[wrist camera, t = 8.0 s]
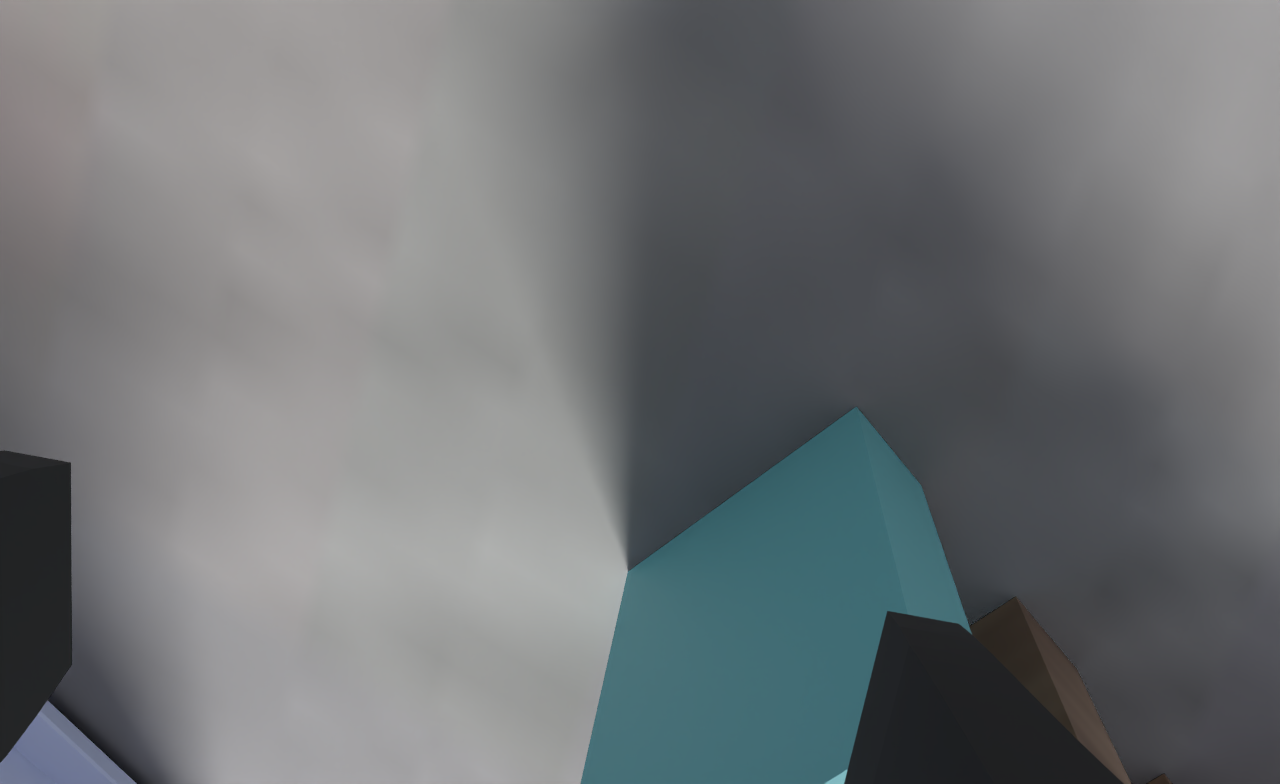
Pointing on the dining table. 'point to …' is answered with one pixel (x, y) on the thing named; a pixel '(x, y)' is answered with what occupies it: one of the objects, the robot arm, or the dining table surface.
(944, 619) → the teal domino
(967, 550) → the dining table surface
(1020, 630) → the walnut domino
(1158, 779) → the walnut domino
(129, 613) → the dining table surface
